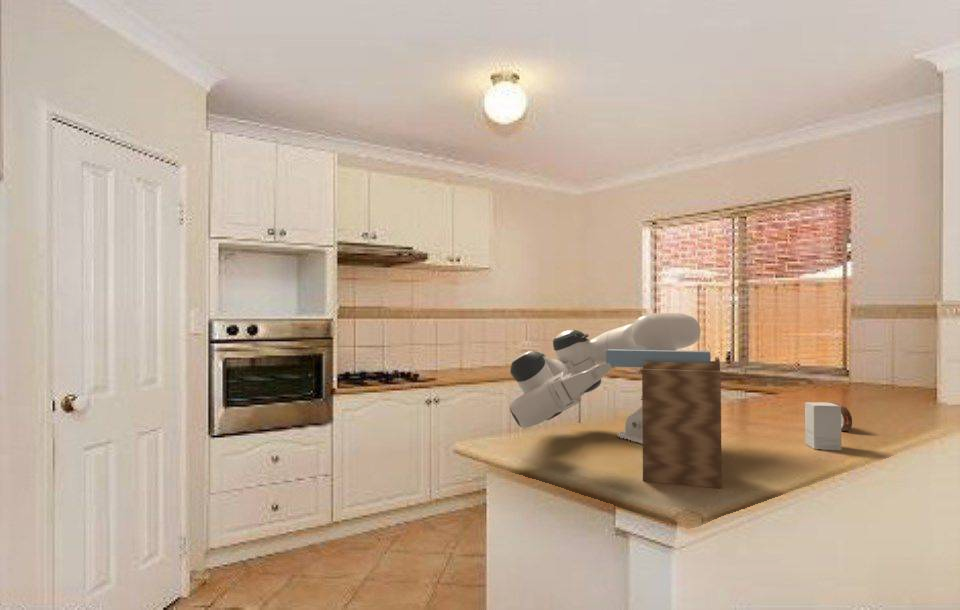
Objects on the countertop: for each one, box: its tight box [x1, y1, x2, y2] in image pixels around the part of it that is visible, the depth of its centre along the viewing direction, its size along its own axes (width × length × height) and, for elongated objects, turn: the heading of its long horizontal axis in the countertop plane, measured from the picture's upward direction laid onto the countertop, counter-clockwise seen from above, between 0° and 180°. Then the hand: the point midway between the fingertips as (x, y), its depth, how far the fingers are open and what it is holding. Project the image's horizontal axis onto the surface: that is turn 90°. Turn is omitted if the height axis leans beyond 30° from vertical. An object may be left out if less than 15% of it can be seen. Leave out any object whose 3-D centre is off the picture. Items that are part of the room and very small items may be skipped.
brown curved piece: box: [826, 401, 853, 432], centre depth 194 cm, size 15×3×8 cm, turn 179°
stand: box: [641, 356, 723, 489], centre depth 139 cm, size 17×14×28 cm
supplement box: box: [804, 401, 842, 451], centre depth 168 cm, size 7×7×13 cm
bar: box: [606, 349, 712, 368], centre depth 141 cm, size 24×4×4 cm, turn 70°
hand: (613, 363), depth 144 cm, fingers open, 8 cm apart
